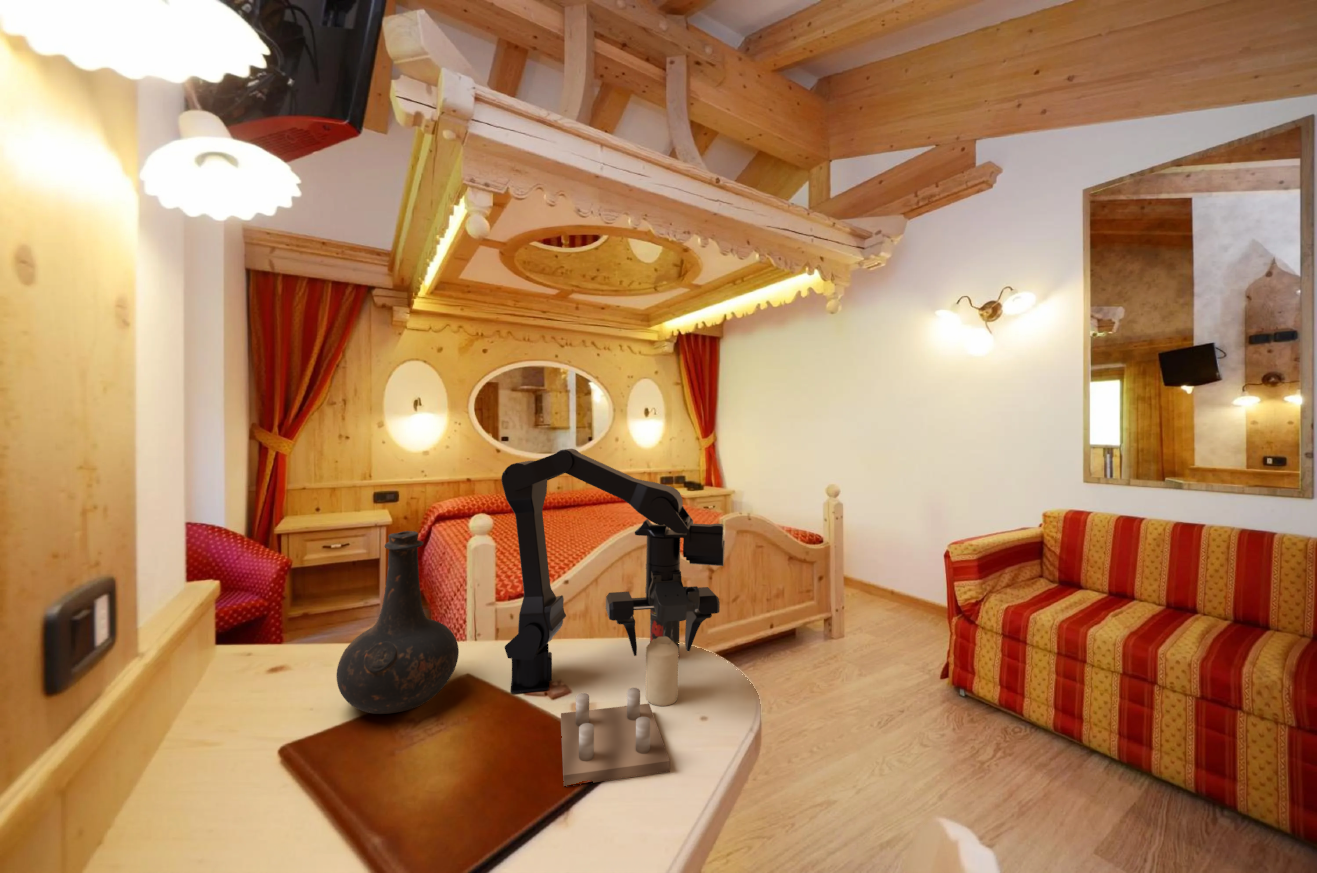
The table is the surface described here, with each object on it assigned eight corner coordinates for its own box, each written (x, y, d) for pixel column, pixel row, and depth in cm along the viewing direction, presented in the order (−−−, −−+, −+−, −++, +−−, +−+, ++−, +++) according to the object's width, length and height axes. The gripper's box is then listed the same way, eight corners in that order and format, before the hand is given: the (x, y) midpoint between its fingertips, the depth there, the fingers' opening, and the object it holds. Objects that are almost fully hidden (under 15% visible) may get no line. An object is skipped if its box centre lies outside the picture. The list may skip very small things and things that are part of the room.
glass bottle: (311, 732, 75) (310, 546, 74) (375, 672, 93) (375, 521, 92) (432, 731, 76) (432, 546, 75) (472, 672, 94) (473, 522, 93)
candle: (674, 708, 83) (675, 648, 82) (642, 704, 84) (642, 644, 83) (680, 690, 88) (680, 634, 88) (649, 687, 89) (650, 631, 89)
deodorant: (684, 659, 100) (685, 584, 99) (656, 664, 97) (657, 587, 97) (671, 646, 105) (672, 575, 105) (645, 651, 103) (646, 578, 102)
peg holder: (563, 786, 65) (564, 744, 64) (560, 722, 78) (561, 687, 78) (669, 771, 68) (670, 731, 67) (649, 712, 81) (649, 679, 81)
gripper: (614, 579, 75) (613, 682, 76) (732, 573, 79) (730, 670, 80) (605, 559, 86) (604, 649, 87) (709, 554, 90) (708, 640, 91)
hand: (661, 652), depth 86 cm, fingers open, 9 cm apart
